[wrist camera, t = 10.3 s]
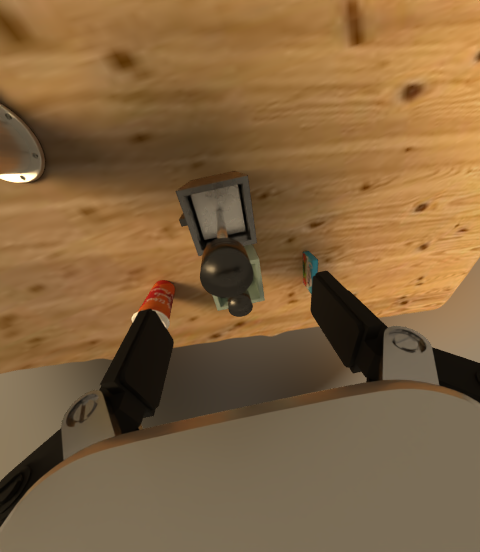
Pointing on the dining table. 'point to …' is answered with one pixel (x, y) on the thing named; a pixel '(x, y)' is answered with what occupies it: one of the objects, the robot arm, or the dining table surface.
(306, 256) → the blue cardboard box
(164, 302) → the coffee cup
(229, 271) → the charcoal plunger
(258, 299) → the green press
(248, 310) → the glossy black knobbed rod
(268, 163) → the dining table surface
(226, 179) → the box
